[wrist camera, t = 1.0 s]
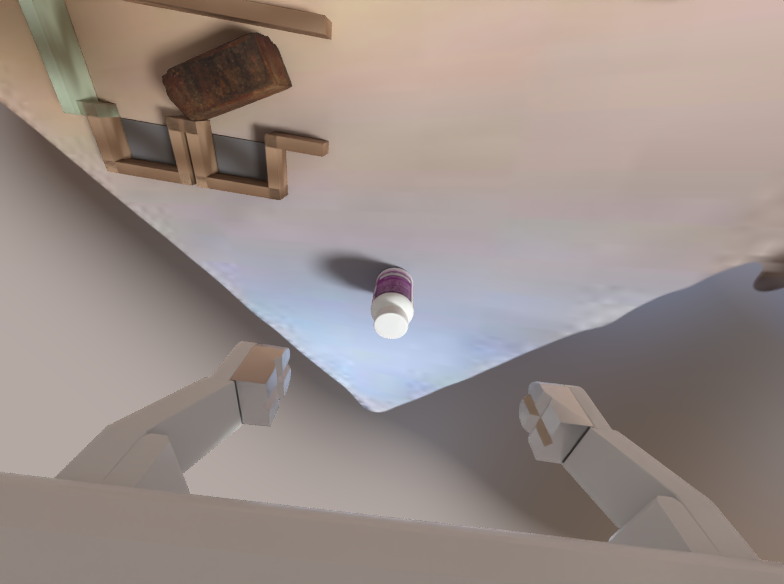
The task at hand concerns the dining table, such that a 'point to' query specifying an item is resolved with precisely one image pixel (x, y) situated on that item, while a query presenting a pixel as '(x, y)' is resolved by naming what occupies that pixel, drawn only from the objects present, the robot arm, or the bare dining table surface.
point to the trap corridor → (181, 135)
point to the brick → (227, 77)
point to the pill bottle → (392, 303)
